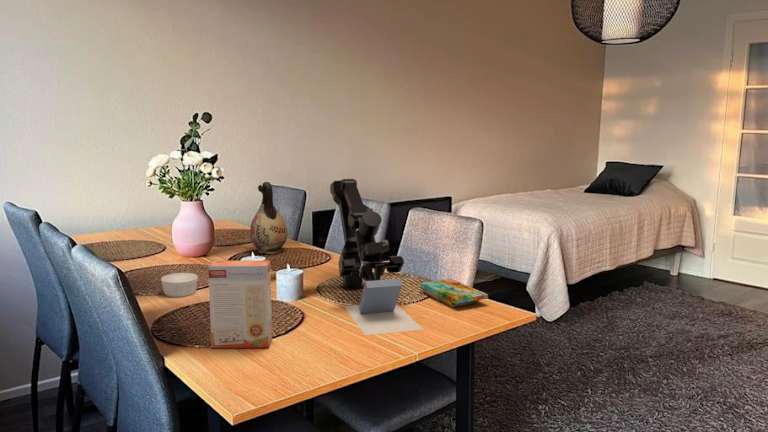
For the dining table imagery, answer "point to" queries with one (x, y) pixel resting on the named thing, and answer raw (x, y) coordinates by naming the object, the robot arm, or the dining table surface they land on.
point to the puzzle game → (452, 292)
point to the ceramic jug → (268, 224)
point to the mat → (383, 321)
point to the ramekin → (179, 284)
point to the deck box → (380, 296)
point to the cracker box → (240, 304)
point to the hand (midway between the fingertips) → (377, 291)
